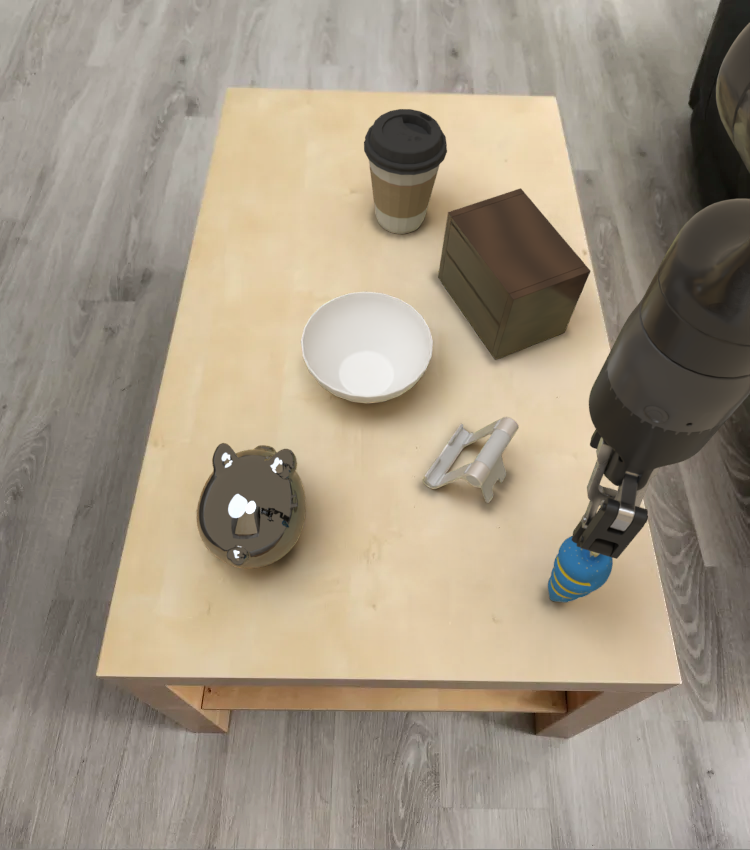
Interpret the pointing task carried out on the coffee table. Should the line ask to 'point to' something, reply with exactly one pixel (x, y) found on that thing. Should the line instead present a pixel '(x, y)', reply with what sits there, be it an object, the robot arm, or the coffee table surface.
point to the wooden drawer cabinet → (510, 272)
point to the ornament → (577, 572)
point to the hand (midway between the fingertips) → (594, 492)
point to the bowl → (366, 346)
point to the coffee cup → (403, 166)
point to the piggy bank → (251, 506)
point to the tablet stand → (484, 466)
